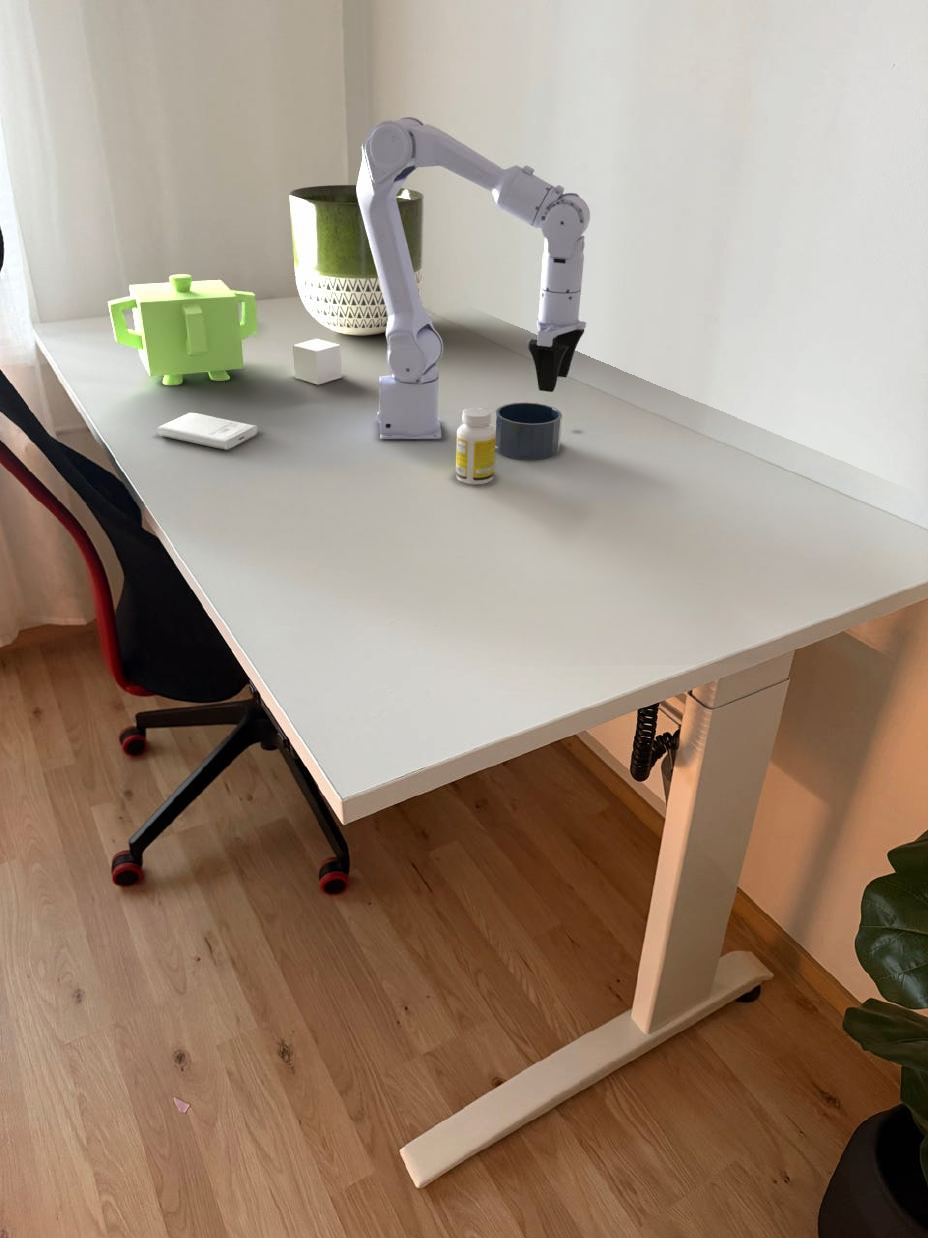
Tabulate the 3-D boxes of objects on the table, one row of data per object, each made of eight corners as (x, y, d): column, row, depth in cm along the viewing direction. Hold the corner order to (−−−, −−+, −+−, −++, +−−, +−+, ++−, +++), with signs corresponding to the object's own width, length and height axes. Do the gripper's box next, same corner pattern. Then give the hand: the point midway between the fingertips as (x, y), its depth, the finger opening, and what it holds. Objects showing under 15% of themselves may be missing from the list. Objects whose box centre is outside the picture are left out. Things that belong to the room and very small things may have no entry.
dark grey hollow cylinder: (497, 459, 141) (499, 424, 138) (491, 435, 150) (492, 402, 147) (563, 459, 142) (566, 424, 139) (553, 435, 151) (556, 402, 148)
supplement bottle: (498, 474, 137) (501, 408, 132) (486, 488, 132) (489, 420, 127) (462, 468, 138) (464, 403, 133) (450, 482, 134) (451, 415, 129)
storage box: (129, 399, 160) (112, 294, 151) (114, 362, 178) (98, 266, 169) (274, 384, 169) (267, 285, 160) (246, 351, 186) (238, 259, 178)
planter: (419, 350, 191) (420, 205, 177) (287, 345, 190) (277, 200, 176) (426, 317, 213) (426, 186, 199) (308, 313, 213) (300, 182, 199)
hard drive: (193, 421, 152) (257, 434, 148) (159, 437, 146) (225, 450, 141) (192, 411, 151) (257, 423, 147) (157, 426, 145) (224, 440, 140)
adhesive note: (318, 370, 177) (316, 338, 174) (341, 377, 174) (340, 344, 171) (294, 377, 173) (292, 344, 170) (318, 384, 170) (316, 351, 167)
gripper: (575, 302, 127) (567, 401, 134) (599, 281, 138) (590, 373, 146) (525, 296, 129) (519, 394, 136) (553, 276, 140) (546, 367, 147)
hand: (553, 383), depth 141 cm, fingers open, 7 cm apart
